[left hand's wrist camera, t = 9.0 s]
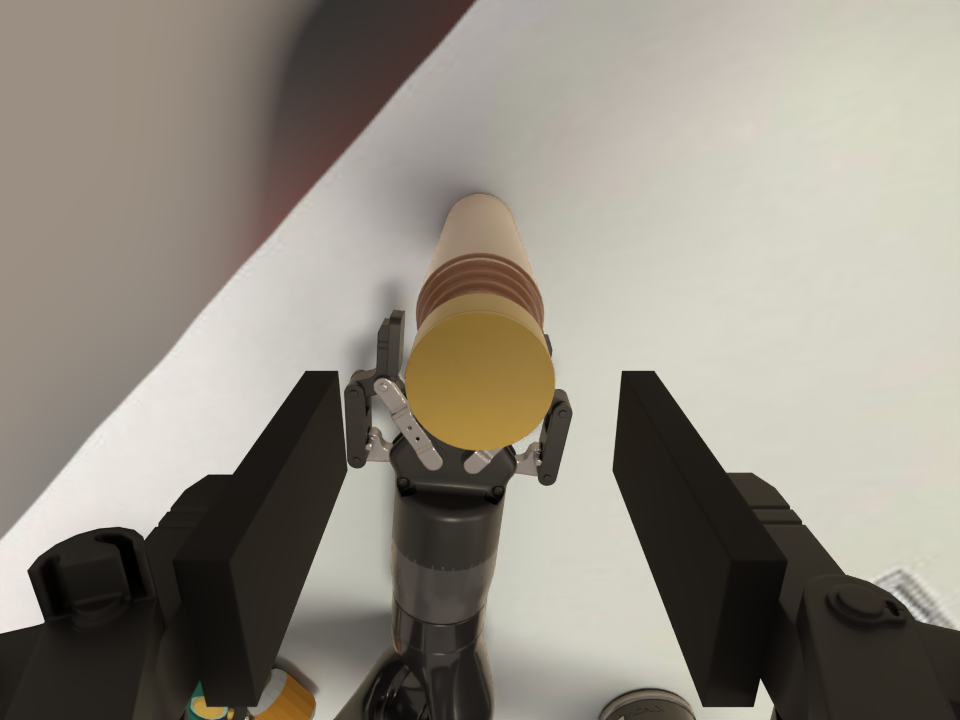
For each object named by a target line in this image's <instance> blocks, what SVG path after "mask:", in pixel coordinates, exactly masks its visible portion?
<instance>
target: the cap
mask: <svg viewBox="0 0 960 720" xmlns="http://www.w3.org/2000/svg"><path fill="white" fill-rule="evenodd" d="M405 390H406V396H407V399H408V402H409V405H410V408H411V410H412V412H413V414H414V415H415V417H416V418H417V420H418V421H419V422H420V424H421V425H422V426H423V427H424V428H425V429H426V430H427V431H428V432H429V433H431V434H432V435H433V436H435V437H436V438H438V439H439V440H441V441H443V442H445V443H447V444H449V445H452V446H455V447H458V448H462V449H467V450H478V451H484V450H493V449H498V448H502V447H505V446H508V445H511V444H513V443H515V442H517V441H519V440H521V439H522V438H524V437H525V436H527V435H528V434H529V433H530V432H532V431H533V430H534V429H535V428H536V427H537V426H538V425H539V424H540V422H541V421H542V420H543V418H544V417H545V415H546V413H547V412H548V410H549V408H550V405H551V402H552V399H553V395H554V390H555V374H554V368H553V364H552V361H551V357H550V354H549V351H548V347H547V344H546V341H545V338H544V335H543V333H542V330H541V328H540V327H539V325H538V323H537V322H536V321H535V319H534V318H533V317H532V316H531V315H530V314H529V313H528V312H527V311H526V310H525V309H524V308H523V307H521V306H520V305H518V304H517V303H515V302H513V301H512V300H509V299H507V298H504V297H501V296H498V295H493V294H486V293H474V294H466V295H462V296H458V297H456V298H453V299H451V300H449V301H447V302H445V303H443V304H441V305H440V306H439V307H437V308H436V309H435V310H434V311H433V312H432V313H430V314H429V315H428V317H427V318H426V319H425V320H424V322H423V323H422V325H421V327H420V328H419V330H418V333H417V335H416V337H415V341H414V344H413V347H412V351H411V354H410V357H409V360H408V364H407V368H406V374H405Z"/></svg>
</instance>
